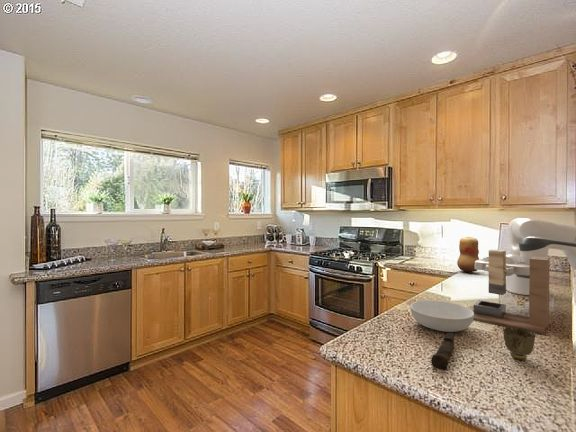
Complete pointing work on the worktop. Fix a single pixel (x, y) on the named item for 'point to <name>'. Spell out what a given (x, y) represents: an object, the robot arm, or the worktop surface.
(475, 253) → the butternut squash
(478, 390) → the worktop surface
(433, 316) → the serving bowl
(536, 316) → the l-shaped wooden bracket
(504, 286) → the rail bar
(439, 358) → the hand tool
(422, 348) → the worktop surface
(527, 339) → the cup
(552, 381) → the worktop surface
